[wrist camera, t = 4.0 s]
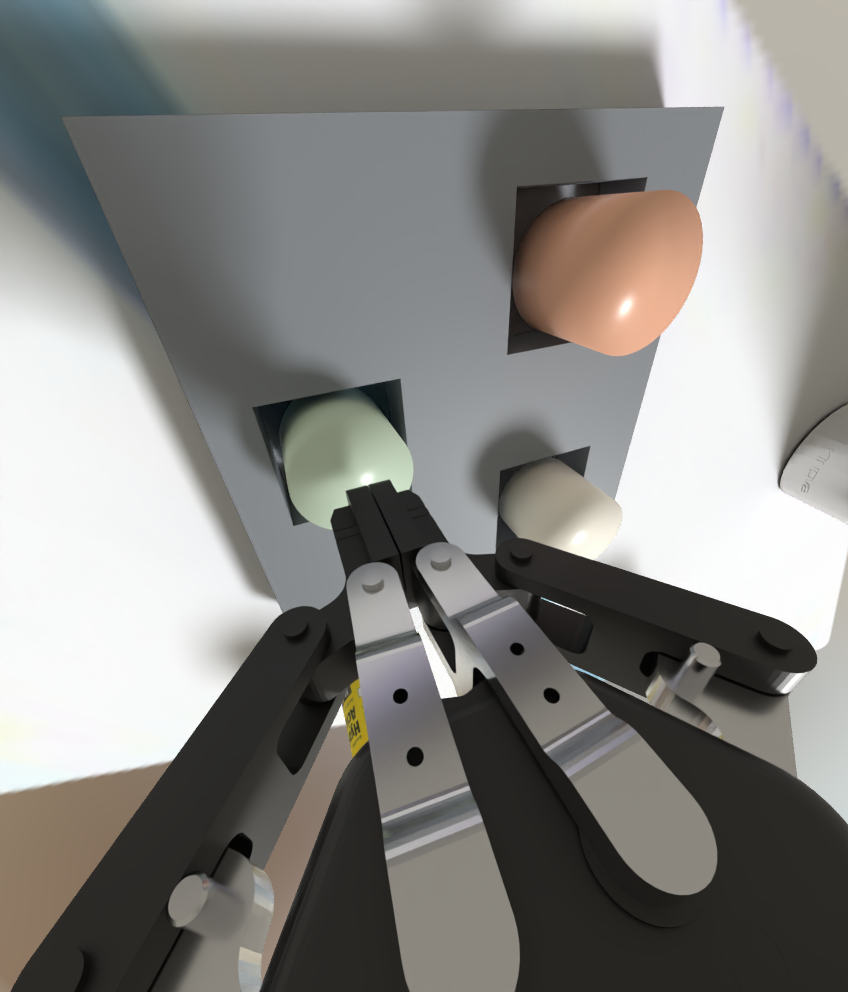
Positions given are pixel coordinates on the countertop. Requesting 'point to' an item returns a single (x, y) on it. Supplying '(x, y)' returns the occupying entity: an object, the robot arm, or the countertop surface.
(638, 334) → the terracotta button
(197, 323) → the panel
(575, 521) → the cream piece
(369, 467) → the sage button
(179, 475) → the countertop surface
